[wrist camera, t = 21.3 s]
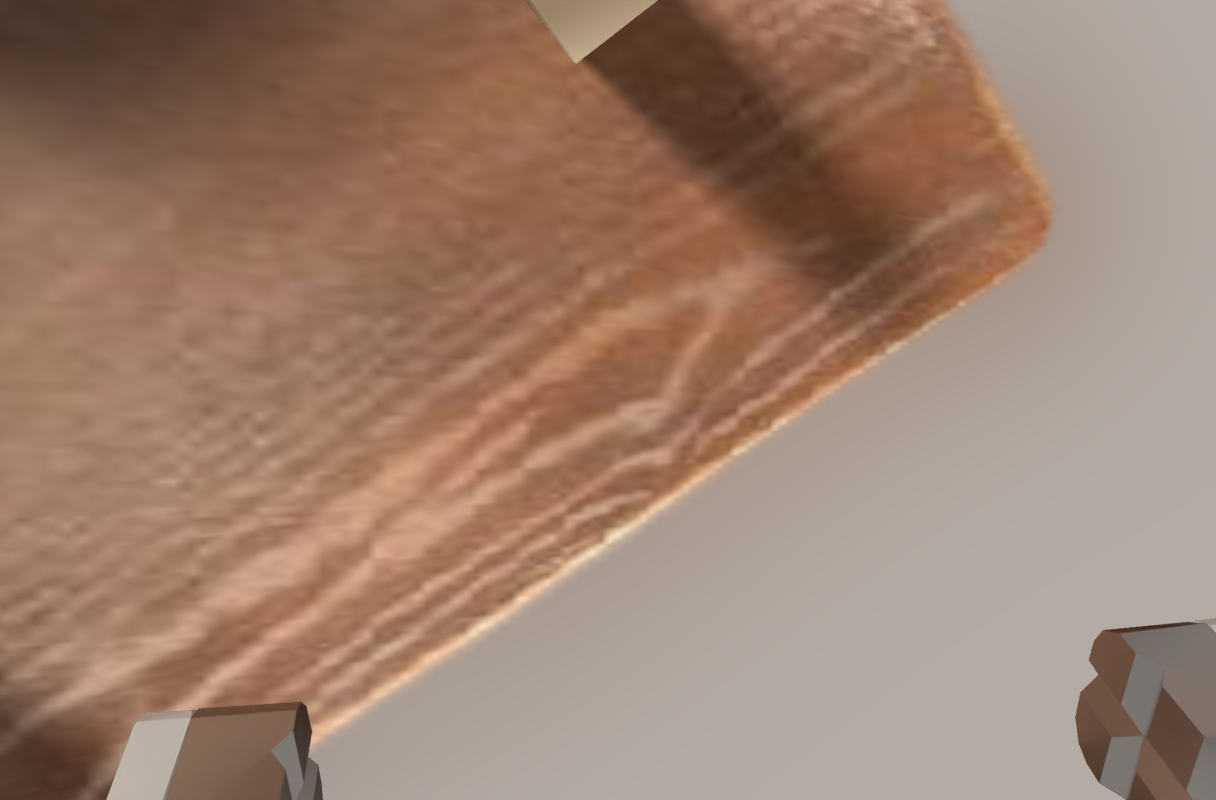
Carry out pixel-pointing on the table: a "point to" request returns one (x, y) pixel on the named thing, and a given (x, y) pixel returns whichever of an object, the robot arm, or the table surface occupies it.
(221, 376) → the table surface
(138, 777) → the robot arm
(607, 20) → the block
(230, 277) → the table surface
